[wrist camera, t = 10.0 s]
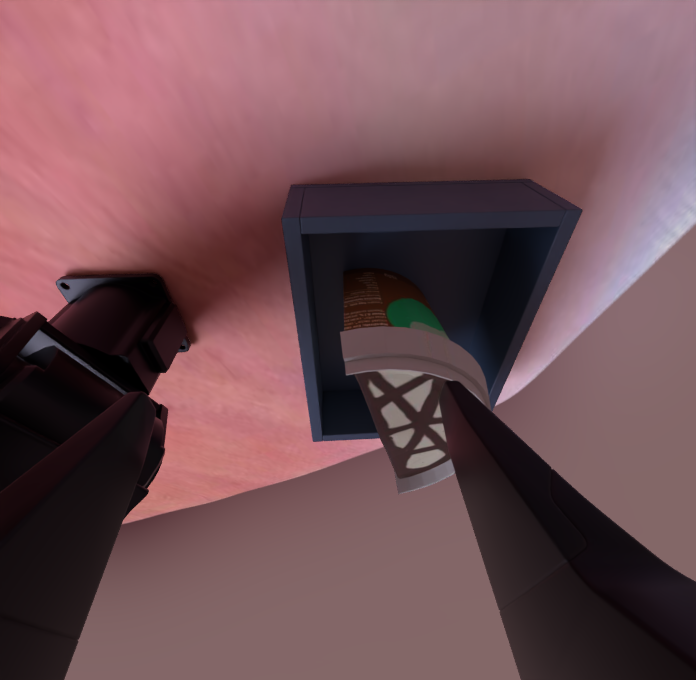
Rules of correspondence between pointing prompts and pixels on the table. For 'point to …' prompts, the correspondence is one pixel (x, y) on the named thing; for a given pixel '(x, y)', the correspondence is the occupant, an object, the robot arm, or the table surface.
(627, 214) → the table surface
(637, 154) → the table surface
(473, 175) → the table surface
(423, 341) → the food container
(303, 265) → the tote
